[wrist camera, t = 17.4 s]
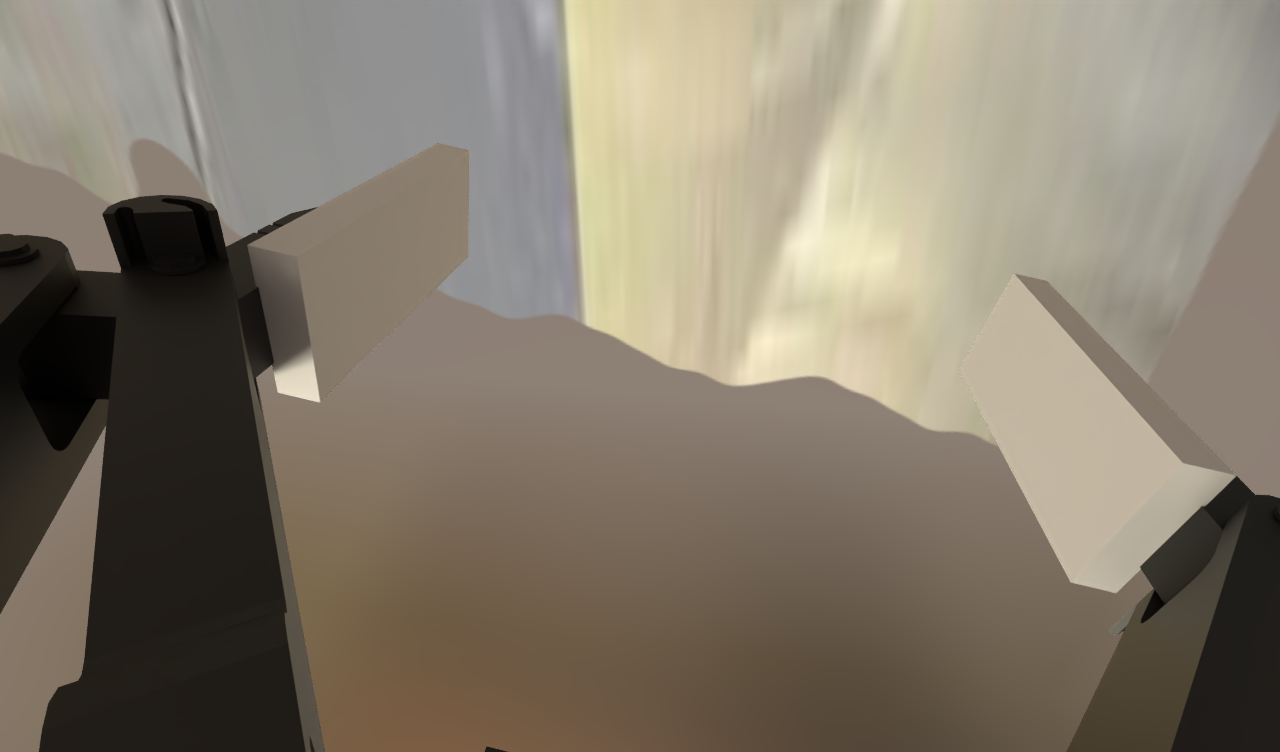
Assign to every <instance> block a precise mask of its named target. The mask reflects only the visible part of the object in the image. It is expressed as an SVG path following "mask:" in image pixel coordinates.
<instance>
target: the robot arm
mask: <svg viewBox="0 0 1280 752" xmlns="http://www.w3.org/2000/svg"><path fill="white" fill-rule="evenodd" d="M468 210H469V150H466V149H461V148H457V147H453V146H448V145H444V144H439V143H438V144H436V145H434V146H432V147H430V148H429V149H427V150H425V151H423V152H421V153H419V154H417V155H415V156H414V157H412V158H410V159H408V160H406V161H404V162H402V163H400V164H399V165H397V166H395V167H393V168H391V169H389V170H387V171H385V172H383V173H382V174H380V175H378V176H376V177H374V178H372V179H370V180H368V181H367V182H365V183H363V184H361V185H359V186H357V187H355V188H353V189H352V190H350V191H348V192H346V193H344V194H342V195H340V196H338V197H337V198H335V199H333V200H331V201H329V202H327V203H325V204H323V205H322V206H320V207H316V208H312V209H308V210H303V211H299V212H295V213H291V214H289V215H287V216H285V217H283V218H281V219H279V220H277V221H275V222H274V223H273V225H268V226H266V227H264V228H262V229H260V230H258V233H252V234H250V235H248V236H246V237H244V238H242V239H241V240H239V241H237V242H235V243H233V244H231V245H229V246H227V247H226V246H225V242H224V238H223V233H222V229H221V225H220V220H219V216H218V212H217V210H216V208H215V207H214V206H213V204H211V203H208V202H206V201H203V200H201V199H197V198H191V197H186V196H170V195H157V196H144V197H137V198H133V199H128V200H123V201H120V202H118V203H116V204H113V205H111V206H109V207H108V208H107V209H106V210H105V211H104V213H103V217H104V220H105V223H106V226H107V229H108V232H109V235H110V237H111V241H112V243H113V246H114V249H115V252H116V255H117V258H118V261H119V264H120V266H121V273H112V272H95V271H79V270H76V269H75V266H74V264H73V261H72V259H71V256H70V253H69V251H68V248H67V247H66V246H65V245H64V244H63V243H62V242H60V241H57V240H54V239H51V238H48V237H39V236H30V235H18V236H14V235H12V234H1V235H0V614H1V612H2V610H3V608H4V606H5V605H6V603H7V601H8V599H9V597H10V596H11V594H12V592H13V590H14V589H15V587H16V585H17V583H18V581H19V580H20V578H21V576H22V574H23V572H24V570H25V569H26V567H27V565H28V563H29V562H30V560H31V558H32V556H33V555H34V553H35V551H36V549H37V547H38V545H39V544H40V542H41V540H42V538H43V536H44V535H45V533H46V531H47V529H48V528H49V526H50V524H51V522H52V520H53V519H54V517H55V515H56V513H57V511H58V510H59V508H60V506H61V504H62V503H63V501H64V499H65V497H66V495H67V494H68V492H69V490H70V488H71V487H72V485H73V483H74V481H75V479H76V478H77V476H78V474H79V472H80V470H81V469H82V467H83V465H84V463H85V461H86V460H87V458H88V456H89V454H90V453H91V451H92V449H93V447H94V445H95V444H96V442H97V440H98V438H99V436H100V435H101V433H102V431H103V429H104V428H105V426H106V434H105V445H104V457H103V466H102V478H101V488H100V498H99V510H98V520H97V530H96V542H95V552H94V562H93V573H92V584H91V594H90V605H89V616H88V627H87V637H86V648H85V658H84V665H83V671H82V675H81V677H80V679H79V680H78V681H76V682H73V683H70V684H67V685H64V686H61V687H58V689H57V690H56V692H55V694H54V695H53V697H52V698H51V700H50V701H49V703H48V707H47V711H46V716H45V720H44V724H43V728H42V734H41V741H40V748H39V752H325V749H324V744H323V738H322V733H321V727H320V722H319V716H318V711H317V705H316V700H315V695H314V689H313V683H312V678H311V672H310V667H309V662H308V656H307V651H306V646H305V640H304V634H303V629H302V623H301V618H300V612H299V607H298V601H297V596H296V591H295V586H294V579H293V574H292V569H291V563H290V558H289V552H288V547H287V541H286V536H285V530H284V525H283V519H282V514H281V508H280V503H279V497H278V492H277V486H276V481H275V475H274V470H273V464H272V459H271V453H270V448H269V443H268V437H267V432H266V426H265V421H264V415H263V410H262V404H261V399H260V394H259V389H258V385H257V381H256V377H257V376H258V375H260V374H261V373H262V372H263V371H264V370H266V369H267V368H268V367H269V366H271V365H272V366H273V371H274V376H275V380H276V385H277V390H278V393H283V394H287V395H291V396H295V397H299V398H303V399H308V400H312V401H316V402H321V401H322V400H323V399H324V398H325V397H326V396H327V395H328V394H329V393H330V392H331V391H332V390H333V389H334V388H335V387H336V386H337V385H339V383H341V382H342V381H343V379H345V377H347V376H348V375H349V373H351V372H352V371H353V370H354V369H355V368H356V367H357V366H358V364H360V363H361V362H362V361H363V360H364V359H365V358H366V357H367V356H368V355H369V354H370V353H371V352H372V351H373V350H374V349H375V348H376V347H377V346H378V345H379V344H380V343H381V342H382V341H383V340H384V339H385V338H386V337H387V336H388V335H389V334H390V333H391V332H392V331H393V330H394V329H395V328H396V327H397V326H398V325H399V324H400V323H401V322H402V321H403V320H404V319H405V318H406V317H407V316H408V315H409V314H410V313H411V312H412V311H413V310H414V309H415V308H416V307H417V306H418V305H419V304H420V303H421V302H422V301H423V300H424V299H425V298H426V297H427V296H428V295H429V294H430V293H431V292H432V291H433V290H434V289H436V288H437V287H438V286H439V285H440V284H441V283H442V282H443V281H444V280H445V279H446V278H447V277H448V276H449V275H450V274H451V273H452V272H453V271H454V270H455V269H456V268H457V267H458V266H459V265H460V264H461V263H462V262H463V261H464V260H465V259H466V258H467V257H468ZM958 371H959V372H960V374H961V376H962V378H963V380H964V382H965V384H966V386H967V388H968V389H969V391H970V393H971V395H972V397H973V399H974V401H975V403H976V405H977V406H978V408H979V410H980V412H981V414H982V416H983V418H984V420H985V421H986V423H987V425H988V427H989V429H990V431H991V433H992V435H993V437H994V438H995V440H996V442H997V444H998V446H999V448H1000V450H1001V452H1002V454H1003V455H1004V457H1005V459H1006V461H1007V463H1008V465H1009V467H1010V469H1011V471H1012V472H1013V474H1014V476H1015V478H1016V480H1017V482H1018V484H1019V486H1020V488H1021V489H1022V491H1023V493H1024V495H1025V497H1026V499H1027V501H1028V503H1029V505H1030V506H1031V508H1032V510H1033V512H1034V514H1035V516H1036V518H1037V519H1038V522H1039V523H1040V525H1041V527H1042V529H1043V531H1044V533H1045V535H1046V537H1047V538H1048V540H1049V542H1050V544H1051V546H1052V548H1053V550H1054V552H1055V553H1056V555H1057V557H1058V559H1059V561H1060V563H1061V565H1062V567H1063V569H1064V571H1065V572H1066V574H1067V576H1068V578H1069V580H1070V582H1072V583H1076V584H1080V585H1085V586H1089V587H1093V588H1097V589H1101V590H1105V591H1109V592H1114V593H1117V592H1118V591H1119V590H1120V589H1121V588H1122V587H1123V586H1124V585H1125V584H1126V583H1127V582H1128V581H1129V580H1130V579H1131V578H1132V577H1133V576H1134V575H1135V574H1136V573H1137V572H1138V571H1139V570H1140V569H1141V570H1142V571H1143V573H1144V574H1145V576H1146V577H1147V579H1148V580H1149V582H1150V583H1151V585H1152V586H1153V588H1154V589H1153V590H1152V591H1151V592H1150V593H1149V594H1147V596H1145V597H1144V598H1143V599H1142V600H1141V601H1140V602H1139V603H1138V604H1137V605H1136V606H1135V607H1133V608H1132V609H1131V610H1130V611H1129V612H1128V613H1127V614H1126V615H1125V616H1124V617H1123V618H1122V619H1120V621H1118V622H1117V623H1116V624H1115V625H1114V626H1113V627H1112V628H1111V629H1110V630H1109V632H1111V633H1112V634H1114V635H1115V636H1116V635H1117V634H1119V633H1120V632H1122V631H1124V633H1123V635H1122V637H1121V639H1120V641H1119V643H1118V645H1117V647H1116V650H1115V652H1114V654H1113V656H1112V658H1111V660H1110V662H1109V664H1108V667H1107V668H1106V670H1105V673H1104V675H1103V677H1102V679H1101V681H1100V683H1099V685H1098V687H1097V689H1096V692H1095V693H1094V696H1093V698H1092V700H1091V702H1090V704H1089V706H1088V708H1087V710H1086V712H1085V714H1084V716H1083V719H1082V721H1081V723H1080V725H1079V727H1078V729H1077V731H1076V733H1075V735H1074V737H1073V739H1072V742H1071V744H1070V746H1069V748H1068V750H1067V752H1280V498H1277V497H1273V496H1269V495H1255V494H1254V493H1253V492H1252V491H1251V490H1250V489H1249V488H1248V487H1247V486H1246V485H1245V484H1244V483H1243V482H1242V481H1241V480H1240V479H1239V478H1238V477H1237V476H1236V475H1235V474H1234V472H1233V471H1232V470H1231V469H1230V468H1229V467H1228V466H1227V465H1226V464H1225V463H1224V462H1223V461H1222V460H1221V459H1220V458H1219V457H1218V456H1217V455H1216V454H1215V453H1214V452H1213V451H1212V450H1211V449H1210V448H1209V447H1208V446H1207V445H1206V444H1205V443H1204V442H1203V441H1202V440H1201V438H1200V437H1199V436H1197V434H1196V433H1195V432H1194V431H1193V430H1192V429H1191V428H1190V427H1189V426H1188V425H1187V424H1186V423H1185V422H1184V421H1183V420H1182V419H1181V418H1180V417H1179V416H1178V415H1177V414H1176V413H1175V412H1174V411H1173V410H1172V409H1171V408H1170V407H1169V406H1168V405H1167V404H1166V403H1165V402H1164V401H1163V400H1162V399H1161V398H1160V396H1159V395H1158V394H1157V393H1156V392H1155V391H1154V390H1153V389H1152V388H1150V386H1149V385H1148V384H1147V383H1146V382H1145V381H1144V380H1143V379H1142V378H1141V377H1140V376H1139V375H1138V374H1137V373H1136V372H1135V371H1134V370H1133V369H1132V368H1131V367H1130V366H1129V365H1128V364H1127V363H1126V362H1125V361H1124V360H1123V359H1122V358H1121V357H1120V356H1119V355H1118V353H1117V352H1116V351H1115V350H1114V349H1113V348H1112V347H1111V346H1110V345H1109V344H1108V343H1107V342H1106V341H1105V340H1104V339H1103V338H1102V337H1101V336H1100V335H1099V334H1098V333H1097V332H1096V331H1095V330H1094V329H1093V328H1092V327H1091V326H1090V325H1089V324H1088V323H1087V322H1086V321H1085V320H1084V319H1083V318H1082V317H1081V316H1080V315H1079V314H1078V313H1077V311H1076V310H1075V309H1074V308H1073V307H1072V306H1071V305H1070V304H1069V303H1068V302H1067V301H1066V300H1065V299H1064V298H1063V297H1062V296H1061V295H1060V294H1059V293H1058V292H1057V291H1056V290H1055V289H1054V288H1053V287H1052V286H1051V285H1050V284H1049V283H1048V282H1047V281H1045V280H1040V279H1036V278H1031V277H1027V276H1023V275H1018V274H1013V276H1012V278H1011V280H1010V281H1009V283H1008V285H1007V287H1006V288H1005V290H1004V292H1003V293H1002V295H1001V297H1000V299H999V300H998V302H997V304H996V305H995V307H994V309H993V311H992V312H991V314H990V316H989V318H988V319H987V321H986V323H985V324H984V326H983V328H982V330H981V331H980V333H979V335H978V336H977V338H976V340H975V342H974V343H973V345H972V347H971V348H970V350H969V352H968V354H967V355H966V357H965V359H964V361H963V362H962V364H961V366H960V367H959V369H958ZM485 752H506V751H503V750H499V749H495V748H490V747H486V750H485Z"/></svg>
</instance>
